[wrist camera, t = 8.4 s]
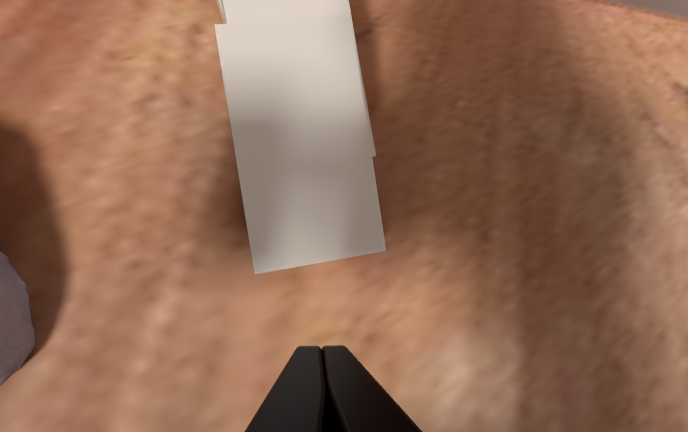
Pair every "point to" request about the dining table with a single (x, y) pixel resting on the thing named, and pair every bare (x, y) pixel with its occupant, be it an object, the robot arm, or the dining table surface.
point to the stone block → (13, 320)
